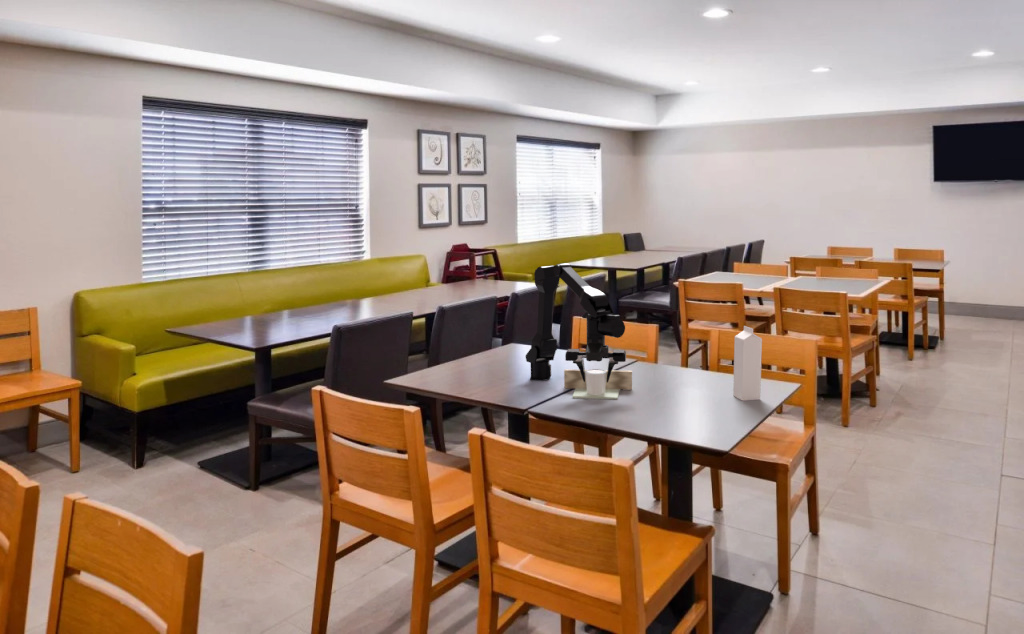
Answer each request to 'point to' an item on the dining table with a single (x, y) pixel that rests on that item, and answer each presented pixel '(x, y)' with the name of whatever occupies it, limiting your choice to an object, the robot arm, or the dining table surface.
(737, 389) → the milk
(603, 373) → the white cup
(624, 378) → the board
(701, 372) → the dining table surface
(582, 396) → the pad
